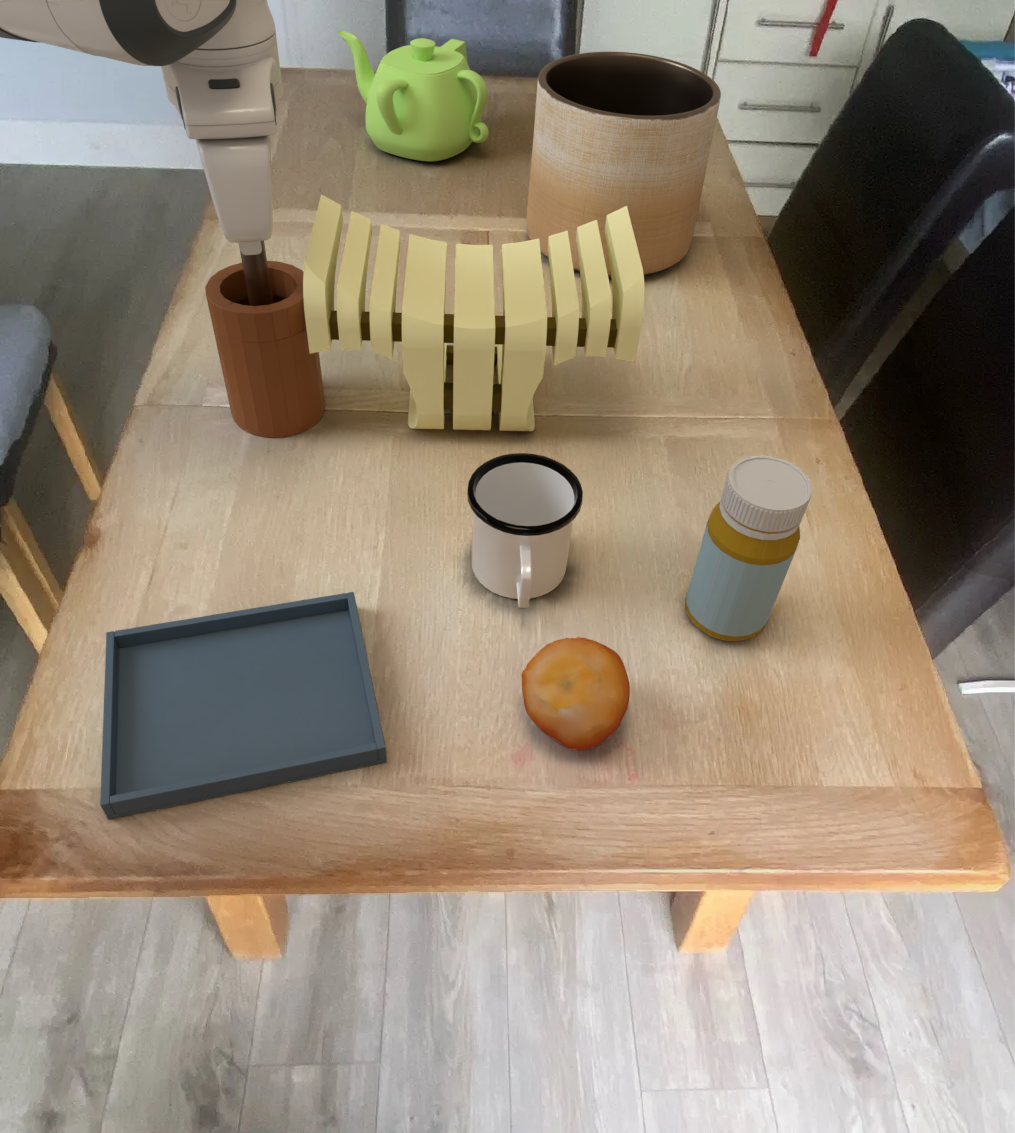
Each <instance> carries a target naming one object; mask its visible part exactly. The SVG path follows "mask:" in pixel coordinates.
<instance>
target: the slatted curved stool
mask: <svg viewBox="0 0 1015 1133" xmlns="http://www.w3.org/2000/svg"><path fill="white" fill-rule="evenodd" d="M343 216H344V214H343V205H341V204H340V203H338V202H336V201H334V200H333V199H330V198H329V197H327V196H325V195H323V194H320V198H319V202H318V206H317V209H316V213H315V218H314V222H313V226H312V231H311V234H310V238H309V241H308V245H307V249H306V254H305V257H304V263H303V272H304V273H303V299H304V313H305V321H306V329H307V337H308V345H309V352H310V354H311V353H316V352H319V353H321V352H326V351H330V350H331V347H332V341H339V350H356V351H361V350H362V345H363V341H365V342H370V349H371V350H370V352H371V353H373V354H376V355H380V356H381V357H384V358H386V359H388V360H389V361H391V362H393V361H394V350H395V342H399V343H400V342H401V354H402V355H401V357H402V374H403V376H404V378H405V380H406V382H407V384H408V386H409V388H410V389H409V401H408V414H407V425H408V427H409V428H410V429H416V430H417V429H419V430H420V429H421V430H445V411H452V430H460V431H462V430H463V431H465V430H466V431H491V428H492V414H493V413H492V412H497V414H498V416H497V417H498V431H500V432H502V431H503V432H504V431H506V432H533V431H534V430H535V427H536V421H535V420H536V419H535V409H534V395H535V393H536V391H537V389H538V386H539V385H540V384H541V382H542V380H543V378H544V371H545V363H546V362H545V361H546V350H547V347H551V348H552V359H553V367H555V366H557V365H558V364H561V363H563V362H565V361H568V360H572V359H575V358H576V354H577V348H584V349H583V350H584V356H585V357H603V358H606V357H607V350H608V349H613V352H614V357H615V359H618V360H623V361H626V362H630V363H634V364H635V363H636V358H637V353H638V347H639V342H640V337H641V331H642V325H643V319H644V308H645V276H644V273H643V268H642V264H641V260H640V256H639V252H638V248H637V244H636V240H635V236H634V232H633V228H632V224H631V220H630V216H629V212H628V208H627V206H625V207H623V208H621V209H619V210H617V211H615V212H612V213H610V214H608V215H607V217H606V224H605V231H604V232H605V238H606V243H607V249H608V255H609V261H610V269H611V277H610V279H611V284H610V279H609V277H608V274H607V269H606V264H605V259H604V253H603V248H602V243H601V238H600V233H599V228H598V223H597V220H594V221H592V222H589V223H587V224H584V225H581V226H579V227H577V234H576V244H577V251H578V259H579V267H580V272H579V275H580V276H579V278H580V288H581V317H580V305H579V304H580V303H579V298H578V297H579V296H578V292H577V291H578V290H577V284H576V278H575V277H576V276H575V271H574V270H573V263H572V256H571V250H570V243H569V236H568V230H567V231H564V232H561V233H557V234H554V235H551V236H549V237H548V256H549V258H548V263H549V264H548V265H549V276H550V277H549V278H550V292H551V294H550V295H551V316H548V311H547V310H548V309H547V302H546V292H545V283H544V282H545V281H544V273H543V263H542V262H543V261H542V252H541V251H540V242H539V239H534V240H530V239H529V240H524V241H518V242H517V241H516V242H509V243H503V244H501V279H502V281H501V282H502V283H501V284H502V315H496V308H495V306H496V305H495V277H494V274H495V272H494V245H493V244H468V243H467V244H466V243H455V263H454V264H455V266H454V267H455V269H454V302H453V303H454V304H453V306H454V307H453V308H454V309H453V313H446V287H447V286H446V283H447V259H448V258H447V257H448V242H447V241H442V240H437V239H432V238H426V237H423V236H419V235H415V234H412V233H409V234H408V245H407V255H406V265H405V275H404V286H403V296H402V305H401V306H402V307H401V312H397V311H396V310H397V309H396V305H397V288H398V287H397V286H398V273H399V261H400V250H401V230H399V229H396V228H394V227H391V226H389V225H386V224H383V223H380V228H379V234H378V241H377V248H376V253H375V254H376V255H375V262H374V268H373V275H372V282H371V283H372V284H371V289H370V297H369V311H366V293H367V292H366V291H367V290H366V289H367V277H368V266H369V257H370V250H371V243H372V237H373V236H372V235H373V226H372V225H373V224H372V219H371V218H369V217H366V216H365V215H362V214H360V213H358V212H356V211H353V210H351V212H350V217H349V221H348V227H347V232H346V236H345V237H346V238H345V243H344V247H343V253H342V257H341V263H340V268H339V272H338V278H337V283H335V282H336V272H337V271H336V269H337V262H338V254H339V248H340V240H341V236H342V231H343V226H344V217H343ZM335 284H336V310H335ZM451 344H452V345H451ZM447 364H453V367H452V368H453V370H452V371H453V373H452V375H453V376H452V378H453V382H447ZM495 366H496V378H497V381H496V383H494V373H495V372H494V369H495Z"/></svg>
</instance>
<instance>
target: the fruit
mask: <svg viewBox="0 0 1015 1133" xmlns="http://www.w3.org/2000/svg"><path fill="white" fill-rule="evenodd" d="M521 690H522V699H523V705H524V708H525V712H526V714H527V715H528V717H529V719H530V720H531V721H532V722H533V724H534V725H535V726H536V727H537V728H538V729H539V730H540V731H541V732H542V733H543V734H545V735H546V736H547V737H549V738H550V739H552V740H554V741H555V742H557V743H559V744H560V745H562V746H563V747H565V748H566V749H568V750H575V751H586V750H590V749H594V748H597V747H599V746H601V744H603V743H605V741H607V740H608V739H609V738H610V737H611V736H612V735H614V733H615V732H616V731H617V730H618V729H619V728H620V726H621V725H622V722H623V721H624V717H625V715H626V713H627V711H628V708H629V702H630V696H631V695H630V694H631V685H630V679H629V676H628V673H627V669H626V666H625V664H624V662H623V659H622V658H621V656H620V654H618V652H617V651H615V650H614V649H612V648H610V647H608V646H607V645H605V644H603V643H600V642H599V641H596V640H593V639H590V638H587V637H580V636H579V637H570V638H569V637H565V638H560V639H556V640H553V641H552V642H549V643H547V644H546V645H545V646H544V647H542V648H541V649H540V650H539V651H538V652H537V653H535V655H534V656H533V657H532V658H531V659H530V660H529V662H527V664H526V666H525V668H524V669H523V670H522V672H521Z"/></svg>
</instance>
